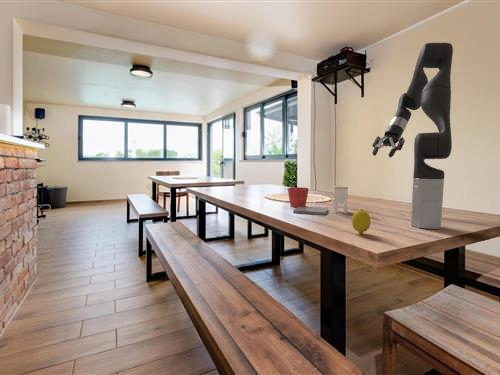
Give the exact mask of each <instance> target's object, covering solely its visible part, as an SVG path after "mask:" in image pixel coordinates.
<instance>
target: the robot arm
mask: <svg viewBox="0 0 500 375" xmlns="http://www.w3.org/2000/svg"><path fill="white" fill-rule="evenodd" d="M453 52H454V48H453V44H452V43H449V42H427V43H425V44H423V45H422V47H421V49H420V51H419V54H418V57H417V60H416V64H415V67H414V71H413V75H412V78H411V81H410V82H409V83H410V84H409V86H408V88H407V91H406V92H403V93H402V94H401V95H400V97H399V99H398V104H397V109H396V111H395V113H394V116H393V117H392V119H391V120H390V122H389V124H388V126H387V127H386V130H385V131H384V134H383V136H382V137H381V136H378V135H377V136H376V138H375V139H374V141H373V143H372V144H371V146H372V148H373V150H372V155H373V156H375V157H376V156H377V154H378V151H379V150H380V149H381V148H382V149H383V148H384V147H389V148H390V147H391V149H390V151H389V153H388V154H387V156H388V158H393V157H394V156H395V153H396V152H397V151H402V149H403V146H404V145H405V143H406V140H405V138H404V137H403V136H402V135H403V133H404V131H405V129H406V128H407V125H408V122H409V121H410V119H411V117H412V111H416V110H419V109H420V108H421V110H422V111H423V113H424V114H425V115H426V117H427V118H429V119H430V120H431V121H432V122H433V123H434V124H435V126H436V128H437V131H438V132H436V131H434V132H419V133H418V134H417V135H415V138H414V145H413V152H414V153H413V154H414V157H413V161H414V162H413V176H412V178H413V179H412V192H411V194H412V195H411V196H412V197H411V198H412V199H411V210H410V212H411V213H410V214H411V216H410V225H411V226H413V227H415V228H418V229H431V230H440V229H442V219H443V216H442V215H443V202H444V200H443V199H444V188H445V171H444V170H442V169H438V168H437V167H433V166H431V165H429V164H427V163H426V161H425V160H444V159H448V158H449V157H450V155H451V153H452V148H453V147H452V146H453V145H452V144H453V141H452V128H451V101H452V88H451V87H452V86H451V85H452V84H451V83H452V82H451V73H452V64H453V55H454V53H453ZM424 68H425V69H438V72H437V73H436V75H434V76H433V77H432V78H431V79H430V80H429V79H428V76H427V73H426V72H425V70H424Z"/></svg>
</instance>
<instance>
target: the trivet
mask: <svg viewBox="0 0 500 375" xmlns="http://www.w3.org/2000/svg"><path fill="white" fill-rule="evenodd" d="M328 211H329V208H328V207H321V206H298V207H295V208H294V209H293V212H292V213H293V214H303V215H315V216H316V215H318V216H325V215H326V214H327V212H328Z"/></svg>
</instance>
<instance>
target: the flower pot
mask: <svg viewBox="0 0 500 375" xmlns="http://www.w3.org/2000/svg"><path fill="white" fill-rule="evenodd" d="M309 189H310V188H309V187H301V186H299V187H292V186H291V187H288V188H287V191H288V192H287V193H288V200H289V204H290V207H292V208H297V207H298V206H306V205H307V202H308V201H307V200H308V195H309Z"/></svg>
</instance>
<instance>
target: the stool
mask: <svg viewBox="0 0 500 375" xmlns="http://www.w3.org/2000/svg"><path fill="white" fill-rule="evenodd" d="M348 193H349V186H348V185H334V200H333V201H334V203H333V205H334V206H333V209H334V210H333V213H338V210H339V209H338V208H339V205H338V204H343V214H348Z"/></svg>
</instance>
